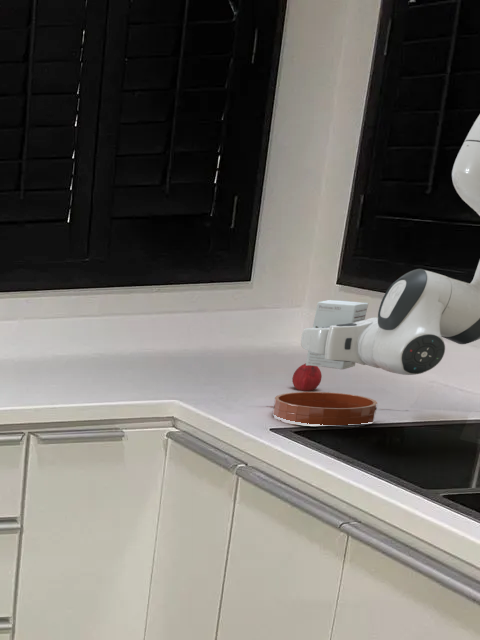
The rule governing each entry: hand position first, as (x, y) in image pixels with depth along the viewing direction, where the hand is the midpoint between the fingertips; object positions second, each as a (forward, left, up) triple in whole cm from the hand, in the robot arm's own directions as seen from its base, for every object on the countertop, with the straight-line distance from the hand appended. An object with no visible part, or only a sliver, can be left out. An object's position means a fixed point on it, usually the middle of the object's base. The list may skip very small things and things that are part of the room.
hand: (340, 332), depth 232 cm
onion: (+9, -28, -18) cm, 35 cm away
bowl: (+1, -1, -18) cm, 18 cm away
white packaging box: (+1, -1, -7) cm, 7 cm away
